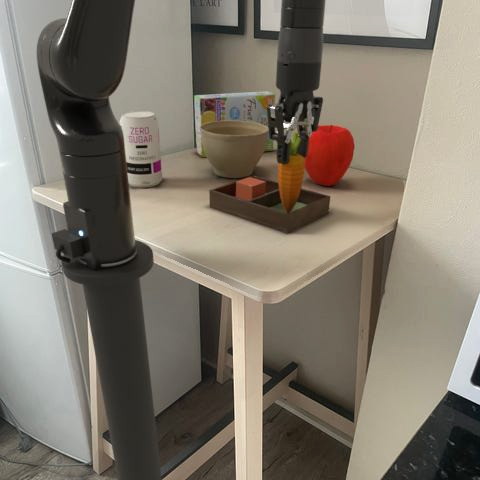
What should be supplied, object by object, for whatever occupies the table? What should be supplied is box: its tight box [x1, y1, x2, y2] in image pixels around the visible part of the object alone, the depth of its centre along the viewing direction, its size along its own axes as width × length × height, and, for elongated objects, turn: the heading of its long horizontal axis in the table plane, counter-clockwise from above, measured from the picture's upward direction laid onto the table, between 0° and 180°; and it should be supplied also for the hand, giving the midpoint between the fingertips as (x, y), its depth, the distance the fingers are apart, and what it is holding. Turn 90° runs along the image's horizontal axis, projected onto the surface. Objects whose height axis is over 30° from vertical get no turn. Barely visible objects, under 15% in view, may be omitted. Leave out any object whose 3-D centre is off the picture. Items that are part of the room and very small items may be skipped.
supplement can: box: [118, 110, 163, 189], centre depth 111 cm, size 8×8×15 cm
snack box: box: [193, 90, 276, 158], centre depth 135 cm, size 21×6×15 cm, turn 111°
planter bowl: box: [200, 120, 269, 179], centre depth 119 cm, size 16×16×11 cm
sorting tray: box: [208, 174, 331, 234], centre depth 101 cm, size 14×20×4 cm
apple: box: [304, 124, 355, 187], centre depth 112 cm, size 12×12×13 cm
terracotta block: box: [236, 176, 266, 201], centre depth 103 cm, size 4×4×4 cm
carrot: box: [277, 131, 305, 213], centre depth 94 cm, size 5×5×15 cm
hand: (292, 159), depth 93 cm, fingers open, 5 cm apart
